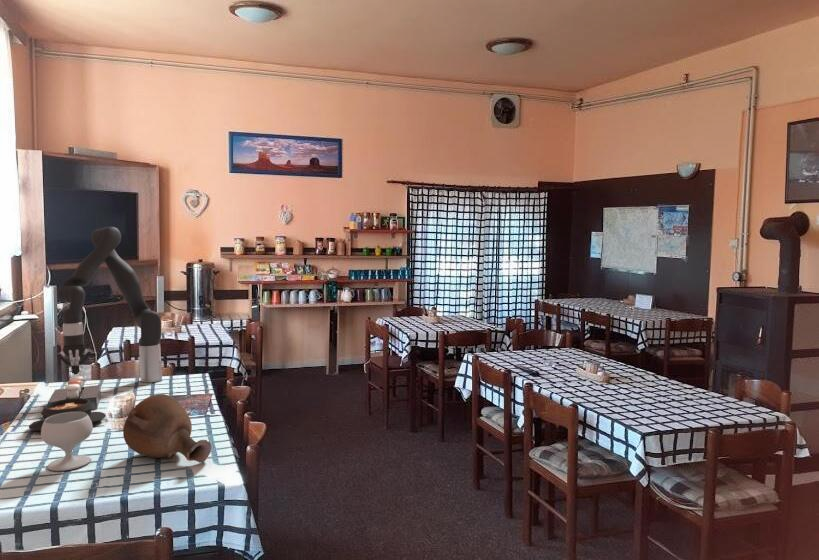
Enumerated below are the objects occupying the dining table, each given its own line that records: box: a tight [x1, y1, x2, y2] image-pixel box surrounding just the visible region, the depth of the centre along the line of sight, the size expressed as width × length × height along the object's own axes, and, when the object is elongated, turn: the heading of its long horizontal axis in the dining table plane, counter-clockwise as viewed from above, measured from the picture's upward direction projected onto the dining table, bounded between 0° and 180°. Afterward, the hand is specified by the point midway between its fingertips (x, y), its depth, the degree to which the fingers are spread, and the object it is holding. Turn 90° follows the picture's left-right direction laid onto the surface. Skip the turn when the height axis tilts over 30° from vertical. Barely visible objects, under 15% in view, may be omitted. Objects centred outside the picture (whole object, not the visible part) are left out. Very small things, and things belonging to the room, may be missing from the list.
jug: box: [122, 393, 212, 464], centre depth 196 cm, size 20×20×30 cm
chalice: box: [40, 412, 94, 472], centre depth 192 cm, size 14×14×15 cm
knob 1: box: [69, 375, 84, 390], centre depth 261 cm, size 5×5×6 cm
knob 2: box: [64, 384, 80, 399], centre depth 248 cm, size 5×5×6 cm
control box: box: [47, 384, 102, 411], centre depth 255 cm, size 17×20×5 cm
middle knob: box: [67, 380, 83, 394], centre depth 255 cm, size 5×5×6 cm
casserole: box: [28, 398, 107, 431], centre depth 229 cm, size 25×19×8 cm
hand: (75, 374), depth 261 cm, fingers closed
